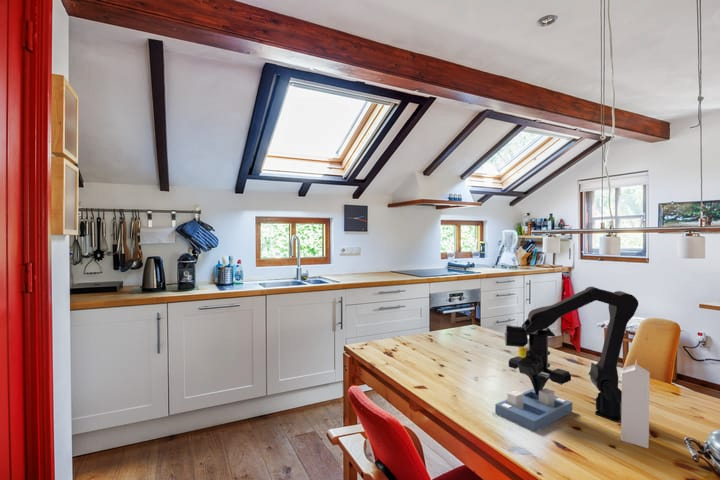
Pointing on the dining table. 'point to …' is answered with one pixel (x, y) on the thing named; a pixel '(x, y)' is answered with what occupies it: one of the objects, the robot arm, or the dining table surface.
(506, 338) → the robot arm
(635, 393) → the milk
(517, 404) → the tab
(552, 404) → the tab
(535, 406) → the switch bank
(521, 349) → the supplement bottle
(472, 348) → the dining table surface
